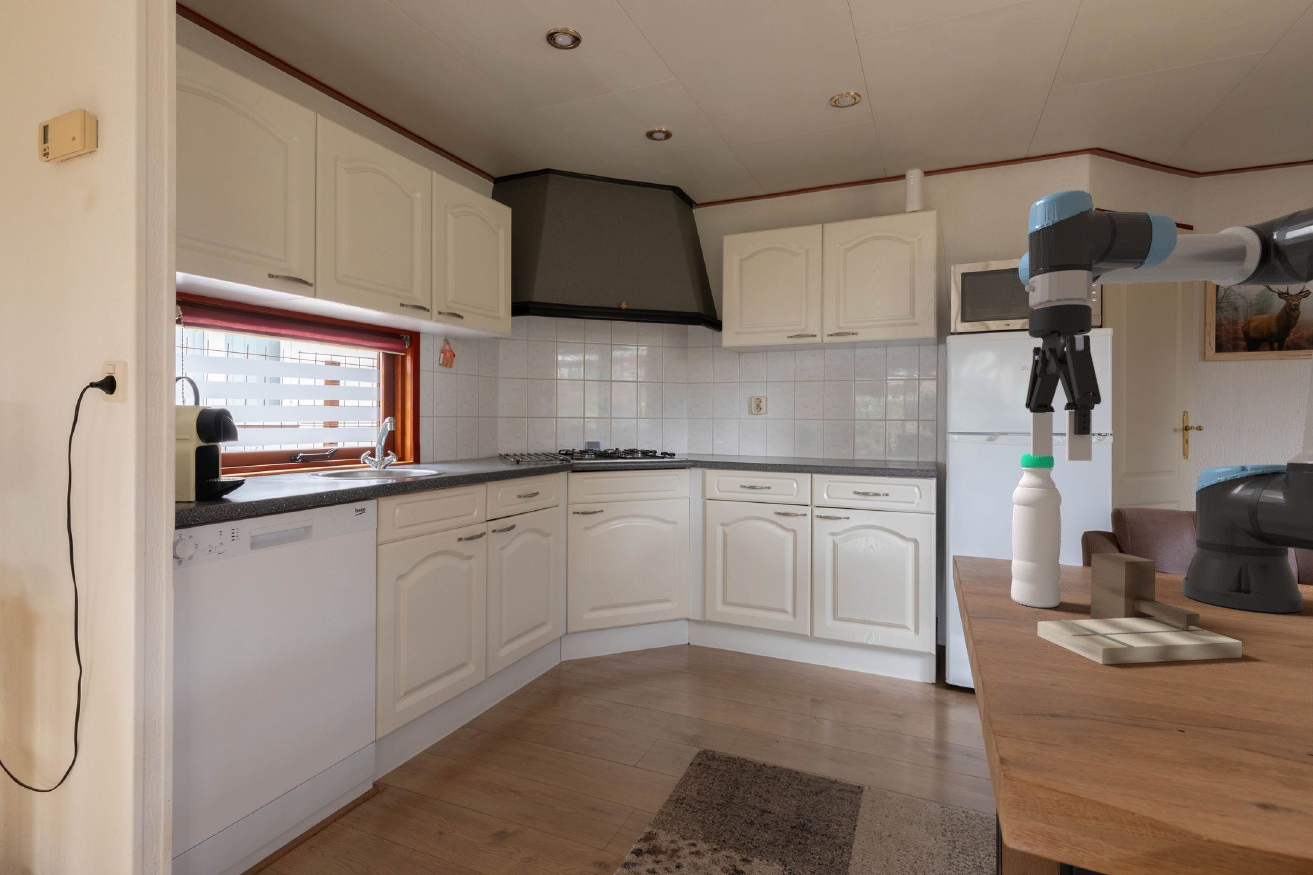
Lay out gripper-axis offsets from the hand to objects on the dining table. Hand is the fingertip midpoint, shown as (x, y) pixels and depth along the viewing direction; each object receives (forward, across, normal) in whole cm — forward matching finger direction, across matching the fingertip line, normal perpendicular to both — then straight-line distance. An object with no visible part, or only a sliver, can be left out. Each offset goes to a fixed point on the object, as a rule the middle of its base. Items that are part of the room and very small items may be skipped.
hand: (1058, 458), depth 90 cm
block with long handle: (+25, -5, +13) cm, 29 cm away
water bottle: (+25, -17, +2) cm, 31 cm away
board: (+25, +3, +8) cm, 27 cm away
